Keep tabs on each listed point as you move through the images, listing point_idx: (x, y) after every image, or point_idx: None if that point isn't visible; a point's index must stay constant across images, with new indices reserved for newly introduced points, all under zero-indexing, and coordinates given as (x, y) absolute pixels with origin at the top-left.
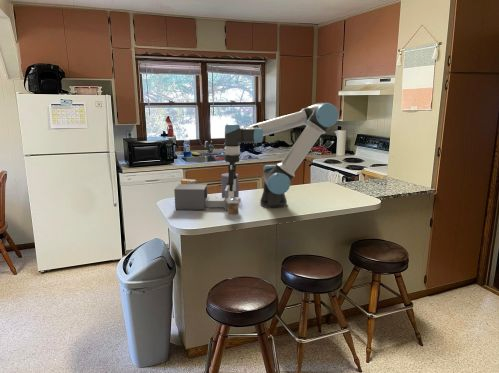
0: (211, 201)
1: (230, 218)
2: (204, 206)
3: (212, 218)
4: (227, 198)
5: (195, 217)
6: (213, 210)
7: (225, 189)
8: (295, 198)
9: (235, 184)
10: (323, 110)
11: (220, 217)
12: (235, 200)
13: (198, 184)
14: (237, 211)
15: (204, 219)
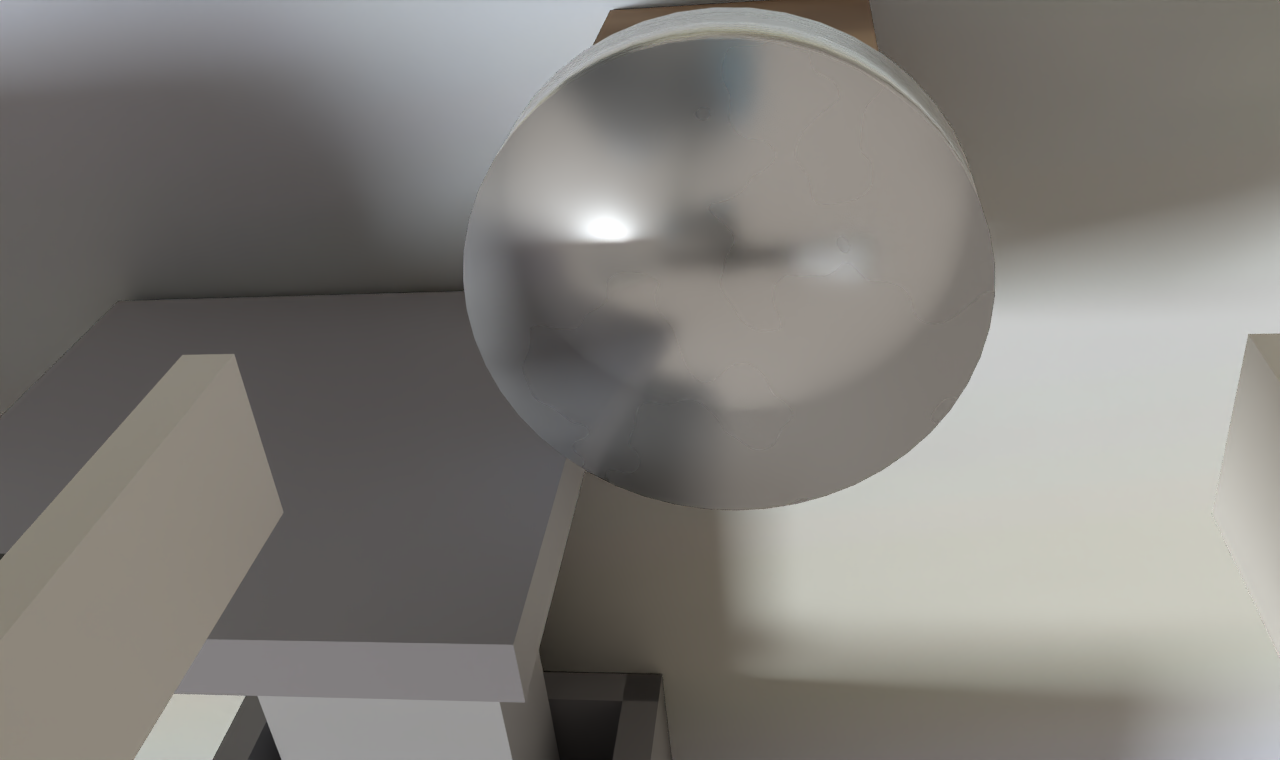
0: (505, 703)
1: (1258, 132)
2: (636, 737)
3: (1193, 502)
4: (691, 465)
5: (1086, 755)
6: (623, 540)
7: (350, 690)
8: None
9: (105, 523)
10: None
11: (1140, 363)
12: (942, 202)
13: None
14: (870, 16)
15: (1239, 622)
